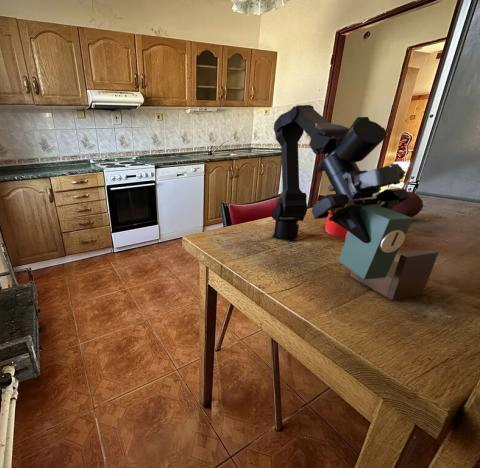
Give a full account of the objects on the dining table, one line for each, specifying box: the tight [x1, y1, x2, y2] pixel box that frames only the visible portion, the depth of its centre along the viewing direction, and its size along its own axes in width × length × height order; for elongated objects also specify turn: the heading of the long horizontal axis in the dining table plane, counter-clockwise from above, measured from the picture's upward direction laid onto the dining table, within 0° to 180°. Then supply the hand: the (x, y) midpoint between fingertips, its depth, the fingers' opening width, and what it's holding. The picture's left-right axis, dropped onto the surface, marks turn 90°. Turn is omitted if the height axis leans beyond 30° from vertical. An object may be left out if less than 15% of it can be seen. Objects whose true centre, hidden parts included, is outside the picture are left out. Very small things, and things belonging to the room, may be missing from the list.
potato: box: [392, 191, 424, 218], centre depth 98 cm, size 11×13×10 cm
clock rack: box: [349, 249, 439, 301], centre depth 57 cm, size 10×8×10 cm
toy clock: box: [324, 210, 348, 240], centre depth 87 cm, size 20×6×20 cm
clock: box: [338, 206, 414, 279], centre depth 51 cm, size 7×5×13 cm
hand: (378, 240), depth 50 cm, fingers closed on clock, 5 cm apart
